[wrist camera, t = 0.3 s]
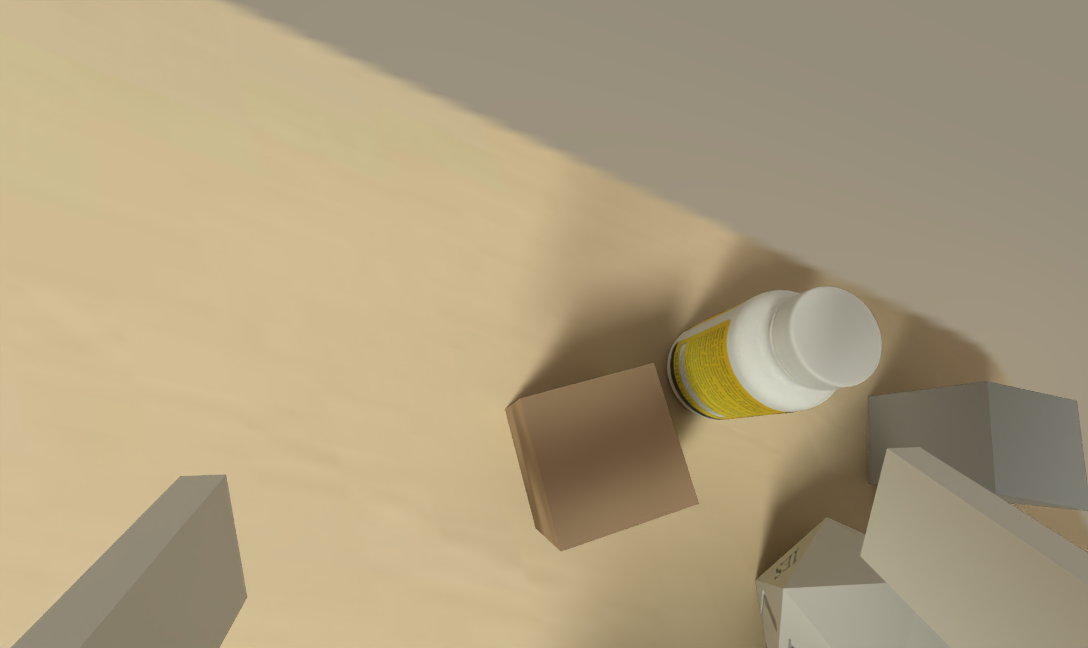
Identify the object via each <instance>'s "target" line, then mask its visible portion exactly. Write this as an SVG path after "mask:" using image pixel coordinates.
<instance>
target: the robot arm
mask: <svg viewBox="0 0 1088 648" xmlns="http://www.w3.org/2000/svg"><path fill="white" fill-rule="evenodd" d="M860 556H861V557H862V558H863V559H864V560H865V561H866V562H867V563H868V564H869V565H870V566H871V567H872V568H873V569H874V570H875V572H876V573H877V574H878V575H879V576H880V577H881V578H882V579H883V580H884V581H885V582H886V583H887V584H888V585H889V586H890V587H891V588H892V589H893V590H894V591H895V592H896V593H897V594H898V595H899V596H900V597H901V598H902V599H903V600H904V601H905V602H906V603H907V604H908V605H909V606H910V607H911V608H912V609H913V610H914V611H915V612H916V613H917V614H918V615H919V616H920V617H921V618H922V619H923V620H924V621H925V622H926V623H927V624H928V625H929V626H930V627H931V628H932V629H933V630H934V631H935V632H936V633H937V634H938V635H939V636H940V637H941V639H942V640H943V641H944V642H945V643H946V644H947V645H948V646H949V647H950V648H1088V553H1087V552H1086V551H1084V550H1082V549H1081V548H1079V547H1078V546H1076V545H1074V544H1073V543H1071V542H1070V541H1068V540H1066V539H1065V538H1063V537H1062V536H1060V535H1059V534H1057V533H1055V532H1054V531H1052V530H1051V529H1049V528H1047V527H1046V526H1044V525H1043V524H1041V523H1039V522H1038V521H1036V520H1035V519H1033V518H1031V517H1030V516H1028V515H1027V514H1025V513H1024V512H1022V511H1020V510H1019V509H1017V508H1016V507H1014V506H1012V505H1011V504H1009V503H1008V502H1006V501H1004V500H1003V499H1001V498H1000V497H998V496H997V495H995V494H993V493H992V492H990V491H989V490H987V489H985V488H984V487H982V486H981V485H979V484H977V483H976V482H974V481H973V480H971V479H970V478H968V477H966V476H965V475H963V474H962V473H960V472H958V471H957V470H955V469H954V468H952V467H950V466H949V465H947V464H946V463H944V462H942V461H941V460H939V459H938V458H936V457H935V456H933V455H931V454H930V453H928V452H927V451H925V450H923V449H922V448H920V447H909V448H887V450H886V454H885V458H884V462H883V466H882V470H881V474H880V478H879V482H878V486H877V490H876V494H875V498H874V502H873V506H872V510H871V514H870V518H869V522H868V526H867V530H866V534H865V538H864V542H863V546H862V550H861V554H860ZM246 598H247V593H246V587H245V582H244V576H243V570H242V564H241V558H240V553H239V547H238V541H237V535H236V529H235V524H234V518H233V512H232V506H231V501H230V495H229V489H228V483H227V477H226V475H202V476H180V477H179V478H178V479H177V480H176V481H175V482H174V483H173V484H172V485H171V486H170V487H169V488H168V489H167V490H166V491H165V492H164V493H163V494H162V495H161V496H160V497H159V498H158V499H157V500H156V501H155V502H154V503H153V504H152V505H151V506H150V508H149V509H148V510H147V511H146V512H145V513H144V514H143V515H142V516H141V517H140V518H139V519H138V520H137V521H136V522H135V523H134V524H133V525H132V526H131V527H130V528H129V529H128V530H127V531H126V532H125V533H124V534H123V535H122V536H121V537H120V538H119V539H118V540H117V541H116V542H115V543H114V544H113V545H112V546H111V547H110V548H109V549H108V550H107V551H106V552H105V553H104V554H103V555H102V556H101V557H100V558H99V559H98V560H97V561H96V562H95V563H94V564H93V565H92V566H91V567H90V568H89V569H88V570H87V571H86V572H85V573H84V574H83V575H82V576H81V577H80V578H79V579H78V580H77V581H76V582H75V583H74V584H73V585H72V586H71V587H70V588H69V589H68V590H67V591H66V592H65V594H64V595H63V596H62V597H61V598H60V599H59V600H58V601H57V602H56V603H55V604H54V605H53V606H52V607H51V608H50V609H49V610H48V611H47V612H46V613H45V614H44V615H43V616H42V617H41V618H40V619H39V620H38V621H37V622H36V623H35V624H34V625H33V626H32V627H31V628H30V629H29V630H28V631H27V632H26V633H25V634H24V635H23V636H22V637H21V638H20V639H19V640H18V641H17V642H16V643H15V644H14V645H13V646H12V647H11V648H219V647H220V646H221V644H222V642H223V640H224V638H225V636H226V635H227V633H228V631H229V629H230V627H231V626H232V624H233V622H234V620H235V618H236V617H237V615H238V613H239V611H240V609H241V607H242V606H243V604H244V602H245V600H246Z"/></svg>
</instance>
